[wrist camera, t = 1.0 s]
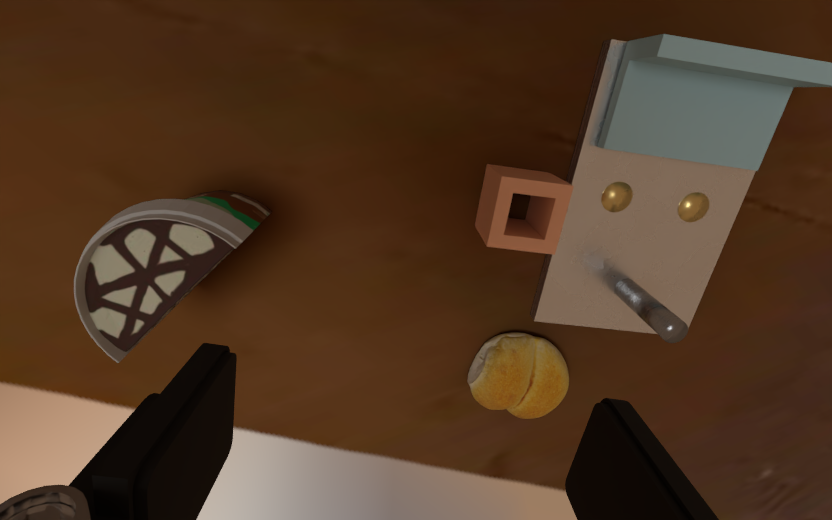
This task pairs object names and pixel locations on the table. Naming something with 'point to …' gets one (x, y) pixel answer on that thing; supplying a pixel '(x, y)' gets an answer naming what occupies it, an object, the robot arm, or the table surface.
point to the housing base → (635, 230)
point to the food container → (155, 262)
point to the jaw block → (541, 215)
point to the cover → (703, 99)
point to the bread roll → (519, 375)
